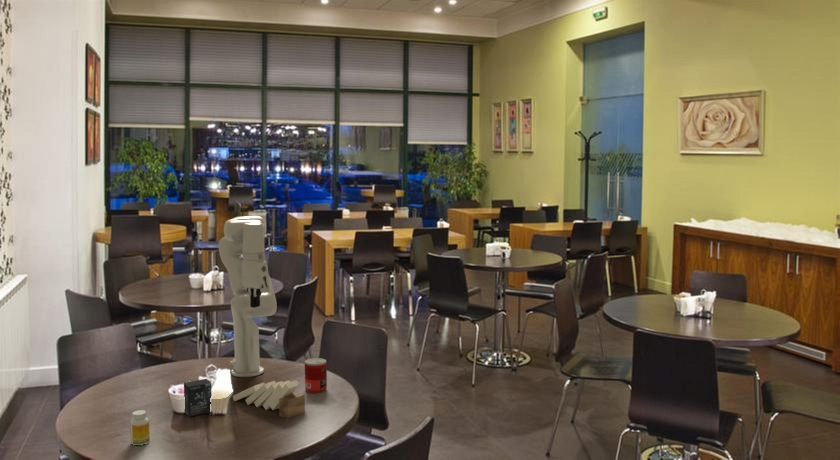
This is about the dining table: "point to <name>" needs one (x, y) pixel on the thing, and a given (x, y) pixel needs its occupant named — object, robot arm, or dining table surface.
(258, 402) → the domino
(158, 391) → the dining table surface
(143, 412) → the supplement bottle
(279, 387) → the domino
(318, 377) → the canned food
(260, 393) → the domino
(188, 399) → the box
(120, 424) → the dining table surface
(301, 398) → the end block
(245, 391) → the domino
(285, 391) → the domino
